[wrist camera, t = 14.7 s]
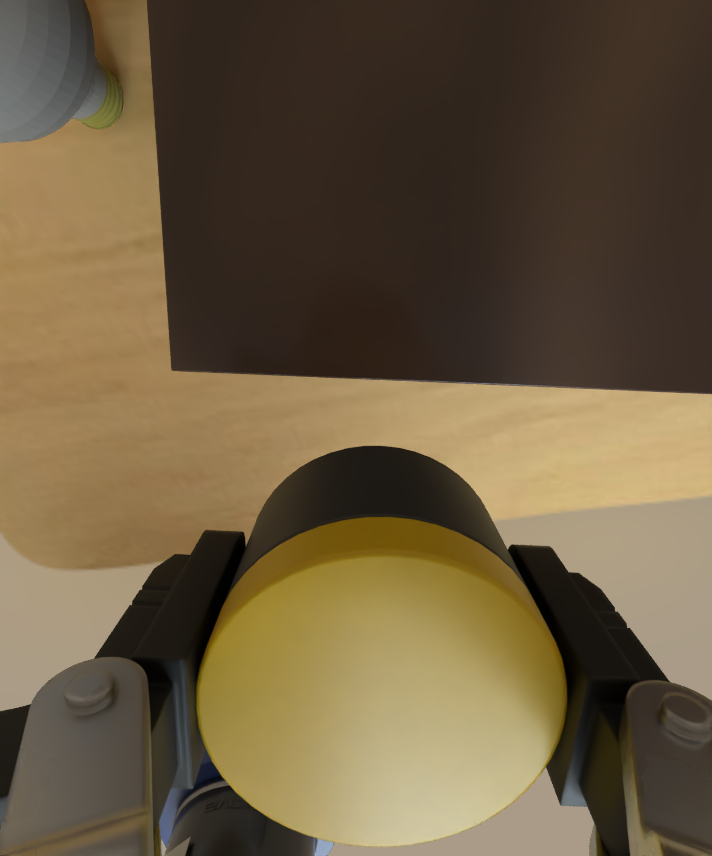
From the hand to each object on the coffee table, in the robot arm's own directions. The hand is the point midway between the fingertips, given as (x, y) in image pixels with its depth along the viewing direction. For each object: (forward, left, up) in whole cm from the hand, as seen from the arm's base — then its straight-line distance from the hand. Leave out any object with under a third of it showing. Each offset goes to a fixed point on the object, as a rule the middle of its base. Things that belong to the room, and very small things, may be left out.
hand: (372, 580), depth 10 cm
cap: (0, 0, -1) cm, 1 cm away
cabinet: (+10, -3, -14) cm, 17 cm away
